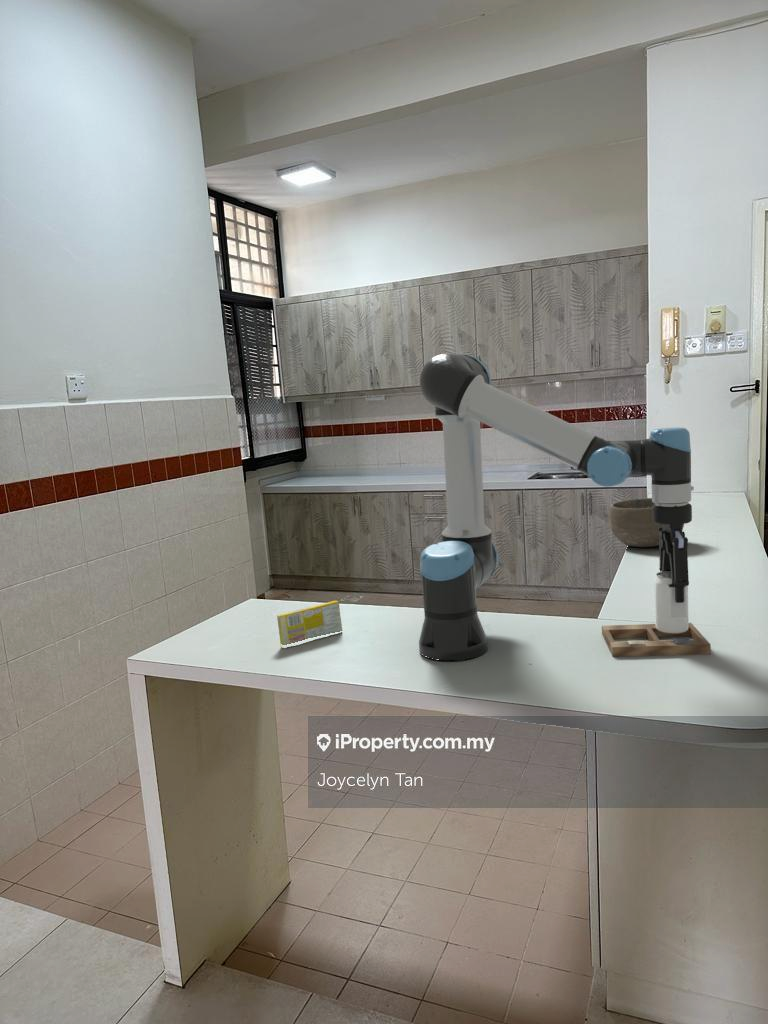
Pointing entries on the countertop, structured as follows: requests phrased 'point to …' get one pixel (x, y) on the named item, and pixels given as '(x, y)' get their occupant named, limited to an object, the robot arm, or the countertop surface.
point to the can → (667, 607)
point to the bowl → (634, 522)
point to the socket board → (653, 641)
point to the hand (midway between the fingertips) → (674, 611)
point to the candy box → (309, 622)
